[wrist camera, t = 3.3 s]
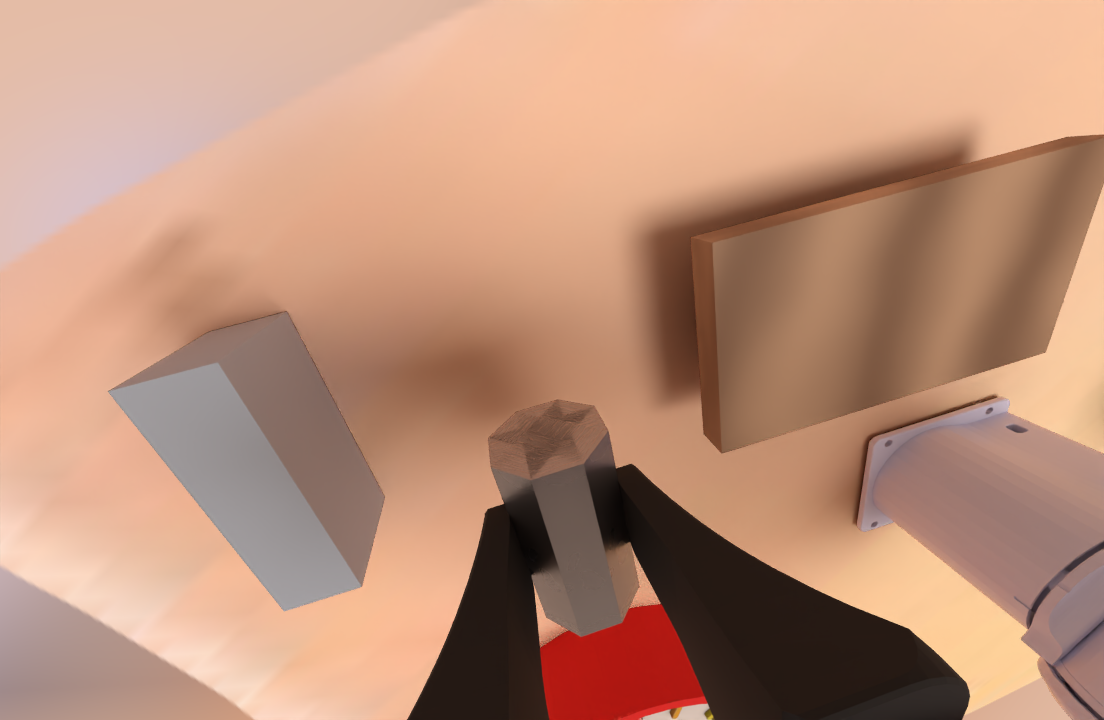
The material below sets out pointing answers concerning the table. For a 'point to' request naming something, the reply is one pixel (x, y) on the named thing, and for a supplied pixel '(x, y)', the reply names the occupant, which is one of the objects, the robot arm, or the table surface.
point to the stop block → (263, 455)
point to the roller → (567, 512)
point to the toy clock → (623, 673)
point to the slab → (888, 289)
